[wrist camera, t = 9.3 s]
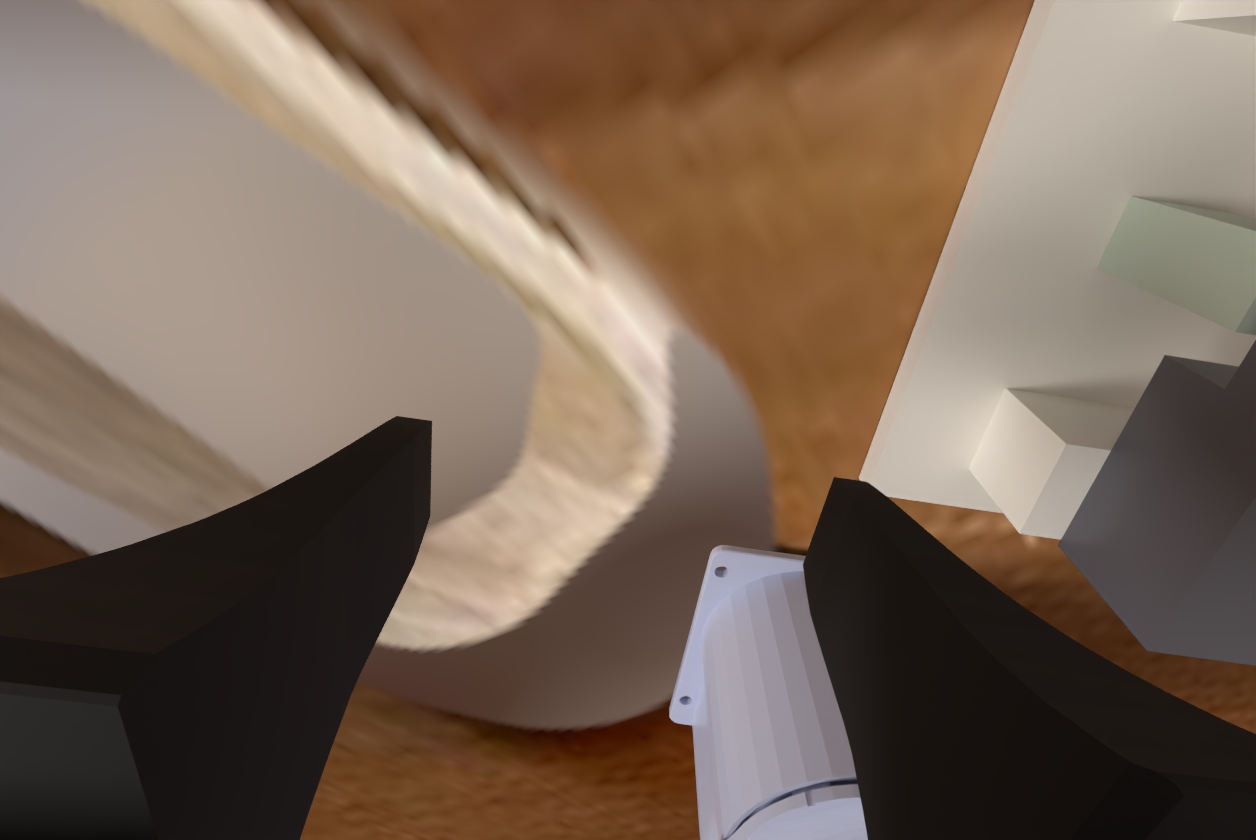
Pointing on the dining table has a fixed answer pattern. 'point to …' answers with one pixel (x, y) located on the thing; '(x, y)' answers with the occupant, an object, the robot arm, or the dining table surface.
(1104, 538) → the grey c-shaped bracket
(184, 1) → the dining table surface
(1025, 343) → the stand
